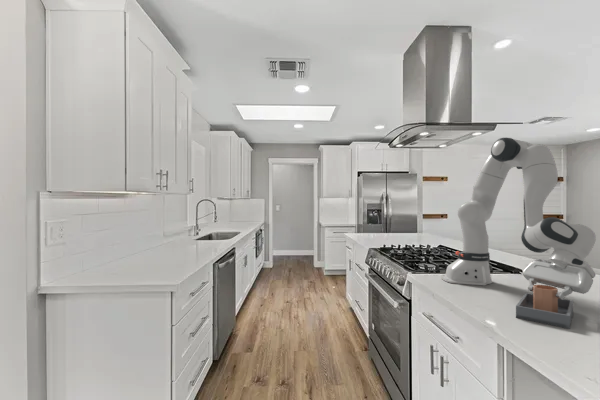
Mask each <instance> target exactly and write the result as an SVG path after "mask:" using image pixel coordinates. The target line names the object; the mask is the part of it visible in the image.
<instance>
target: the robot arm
mask: <svg viewBox="0 0 600 400" xmlns="http://www.w3.org/2000/svg"><path fill="white" fill-rule="evenodd" d="M555 160H556V159H555V158H554V156H553V153H552V151H551V149H550V147H548V146H547V145H544V144H532V143H530V142H528V141H525V140H519V139H515V138H512V137H500V138H498V139H497V140H495V142H494V143H493V144H492V146H491V148H490V154H489V155H488V157H487V158H486V159H485V161H484V163H483V165H482V167H481V169H480V171H479V173H478V176H477V177H476V180H475V182H474V185H473V187H472V189H473V190H472V193H471V197H470V200H469V201H467V202H464V203H463V204H462V205H460V207H459V208H458V210H457V216H458V218H459V222H460V227H461V233H462V251H459V250H457V251H455V255H457V256H458V258H457V259H456V260H454V261H453V262H452V263H450V264H448V265H447V267H446V271H445V273H444V274H441V277H440V278H441V279H442V280H443V281H445V282H447V283H450V284H457V285H458V284H459V285H471V286H472V285H473V286H487V285H488V284H489V285H490V284H492V283H493V280H492V276H491V270H490V260H491V257H490V252H489V235H488V231H487V230H488V229H487V226H486V223H487V221H489V220H490V218H491V217H492V215H493V211H494V209H495V206H496V201H497V198H498V195H499V193H500V191H501V189H502V187H503V185H504V182H505V180H506V178H507V176H508V174H509V172H510V170H511V169H513V168H516V169H517V170H521V172H522V177H523V220H524V221H523V222H524V224H523V225H524V227H523V230H522V233H521V236H520V237H521V238H520V239H521V243H522V244H523V246H525V248H527V249H528V250H529V251H530V252H533V253H545V252H546V251H548V250H550V249H551V248H553V252H552V253H551V254H550V256H549V257H548V259H547V260H545V259H543V260H542V259H536V260H535V259H533V260H532V261H531V262H530V263H529V264H528V265H527V266H526V267H525V268H524V269H523V271H522V276H523V277H524V278H525V280H527V281H528V283H529V285H528V287H527V289H528V291H530V292H533V285H537V284H540V285H548V286H552V287H556V288H557V289H561V291H558V292H557V294H556V297H557V298H558V299H561V300H563V299H565V297H567V296H569V295H571V294H572V293H573V292H575V293H578V294H583V295H584V294H586V293H589V291H590V290H591V288H592V286H593V283H594V278H595V277H596V272H595V271H594V269H593V268H592V267H591V265H590V264H589V263H588V262H587V261H585V259H586V258H588V256H589V255H590V254H591V252H592V250H593V248H594V246H595V244H596V240H597V237H596V236H597V235H596V234H595V232H594V230H593V229H591V228H590V227H588V226H586V225H584V224H581V223H579V224H578V223H577V224H574V223H573V224H572V223H569V222H566V221H564V220H562V219H560V218H558V217H554V216H553V217H545V218H544V211H543V207H544V203H545V201H546V199H547V198H548V196H549V195H550V194H551V192H552V191H553V190H554V189H555V187H556V186H557V185H558V179H559V178H558V168H557V163H556V161H555Z"/></svg>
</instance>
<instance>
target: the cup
mask: <svg viewBox="0 0 600 400" xmlns="http://www.w3.org/2000/svg"><path fill="white" fill-rule="evenodd" d="M558 290H559V288H558V287H554V286H550V285H545V284H534V285H533V291H532V294H533V309H539V310H544V311H549V312H555V313H558V298H557V297H556V294H557V292H559V291H558Z"/></svg>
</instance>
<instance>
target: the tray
mask: <svg viewBox="0 0 600 400" xmlns="http://www.w3.org/2000/svg"><path fill="white" fill-rule="evenodd" d="M573 315H574V300H573V299H572V300H571V299H565V298H564V299H563V300H561V299H558V313H555V312H549V311H544V310H539V309H533V293H529V292H525V293H524V294H523V296H522V297H521V298H520V299H519V301H518V302H517V304H516V305H515V318H516V319H521V320H526V321H528V322H529V321H530V322H536V323H540V324H544V325H549V326H554V327H559V328H564V329H567V330H569V329H571V326H572V319H573Z"/></svg>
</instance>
